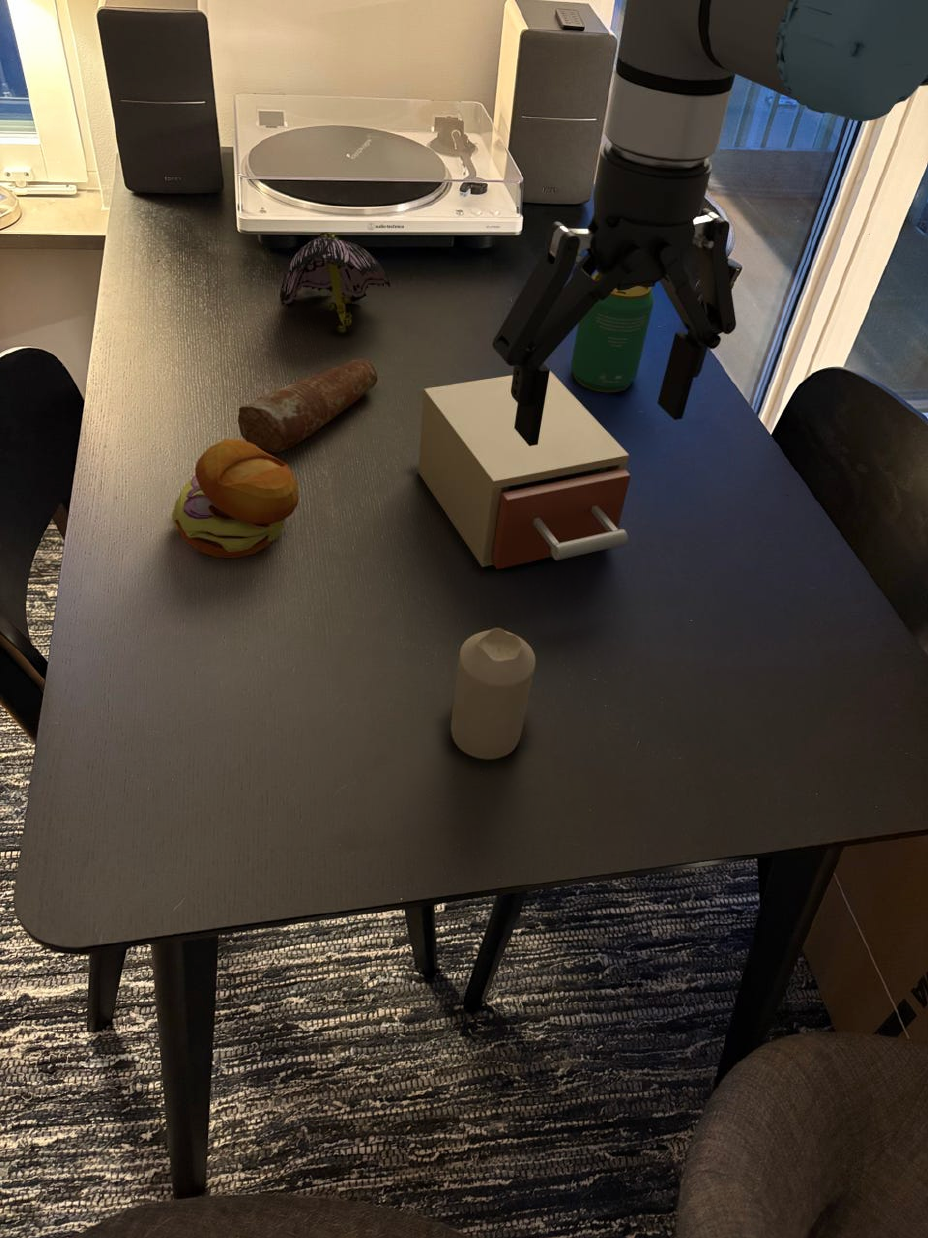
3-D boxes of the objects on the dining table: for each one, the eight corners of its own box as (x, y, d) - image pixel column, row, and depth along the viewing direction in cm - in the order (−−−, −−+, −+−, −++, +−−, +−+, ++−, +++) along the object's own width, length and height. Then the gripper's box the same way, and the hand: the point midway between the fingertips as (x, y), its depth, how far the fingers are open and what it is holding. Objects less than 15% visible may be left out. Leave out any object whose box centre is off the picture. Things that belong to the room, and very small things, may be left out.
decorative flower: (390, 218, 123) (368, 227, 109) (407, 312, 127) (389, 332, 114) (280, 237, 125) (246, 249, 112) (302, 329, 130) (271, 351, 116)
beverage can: (633, 365, 121) (655, 272, 112) (635, 398, 115) (658, 302, 107) (570, 356, 121) (586, 263, 113) (568, 389, 115) (586, 293, 107)
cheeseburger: (186, 490, 94) (201, 405, 88) (293, 522, 96) (316, 442, 90) (156, 555, 87) (170, 467, 80) (272, 589, 89) (296, 506, 82)
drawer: (642, 576, 90) (662, 508, 84) (522, 606, 85) (534, 536, 80) (544, 458, 102) (556, 393, 97) (434, 479, 98) (440, 411, 92)
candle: (452, 760, 74) (464, 670, 67) (448, 705, 77) (459, 615, 71) (524, 760, 74) (543, 671, 67) (516, 706, 78) (533, 616, 71)
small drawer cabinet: (608, 538, 95) (629, 454, 88) (482, 567, 90) (493, 481, 83) (535, 450, 105) (549, 369, 98) (417, 472, 100) (423, 388, 93)
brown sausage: (233, 446, 101) (229, 399, 97) (351, 377, 113) (351, 333, 109) (279, 470, 98) (276, 422, 94) (394, 397, 110) (396, 352, 106)
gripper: (773, 122, 71) (700, 379, 86) (464, 138, 63) (441, 422, 77) (840, 157, 66) (750, 424, 81) (515, 181, 58) (480, 474, 72)
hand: (599, 423), depth 79 cm, fingers open, 13 cm apart
